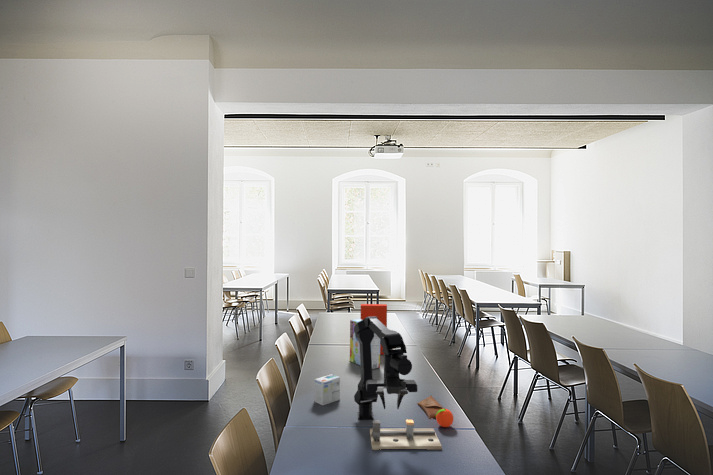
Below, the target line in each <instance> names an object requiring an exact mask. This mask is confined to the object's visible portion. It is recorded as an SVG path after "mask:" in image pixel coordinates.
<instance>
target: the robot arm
mask: <svg viewBox="0 0 713 475" xmlns="http://www.w3.org/2000/svg"><path fill="white" fill-rule="evenodd" d="M354 332H355V337H356V339H357V340H358V342H359V344H360V363H361V366H360V377H361V378H360V380H359V382H358V384H357V391H356V392H355V394H354V396H353V399H354V402H355V403H356V404H357V405H358V411H357V419H358V420H374V419H375V418H374V417H375V416H374V413H373V412H374V411H373V403H377V402H378V399H379V398H378V397H380V400H381V402H382V407H383V409H384V410H386V402H385V401H386V400H385V392H384V389H386V394H387V395H392V394H393V395H394V394H396V395H397V400H396V408H397V410H399V409H400V407H401V403H402V400H403V398H404V397H405V395H408V394H409V393H417V392H418V384H417V382H416V380H414V379H406V378H400V375H402V376H407V375H409V374H410V373H411V372H412V369H413V364H412V361H411V360H410V359H408V355H407V353H408V352H407V347H406V344H405V342H404V338H403V337H402V335H401V333H400V332H398V331H396V330H393V329H390V328H388V326H387V327H386V326H385V325H384V324H382V323H381V322H380V321H379V320H378V318H377V317H375V316H372V317H366V318H365V319H364V320H362V321H360V322H358V323H357V324H356V325H355V326H354ZM374 333H375V334H376V335H377V336H378V337H379V338H380V344H381V345H382V347H383V350H382V352H383V353H384V355H383V382H378V381H377V379H374V377H373V369H372V358H371V342H372V340H373V338H374Z"/></svg>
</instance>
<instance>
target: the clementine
mask: <svg viewBox="0 0 713 475" xmlns="http://www.w3.org/2000/svg"><path fill="white" fill-rule="evenodd" d="M435 417H436V419H435V420H436V423H437V424H438V425H439V426H440V427H443V428H449V427H450V426H452V425H453V422H454V413H452V411H451V410H449V409H447V408H444V409H440V410H439V411H438V412H437V413H436V416H435Z"/></svg>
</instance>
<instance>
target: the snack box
mask: <svg viewBox="0 0 713 475" xmlns="http://www.w3.org/2000/svg"><path fill="white" fill-rule="evenodd" d="M360 321H362V319H361V318H359V319H358V318H355V319H350V320H349V322H350V323H349V328H350V329H349V332H350V333H349V362H351V363H353V364H355V365H358V366H360V367H361V363H360V344H359V342H358V340H357V339H356V337H355V332H354V326H355V325H356V324H357V323H358V322H360ZM371 358H372V370H374V369H379V368H381V355H380V338H379V337H378V336H377V335H376V334H375V333H374V338H373V340H372V342H371Z"/></svg>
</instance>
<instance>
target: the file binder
mask: <svg viewBox="0 0 713 475" xmlns="http://www.w3.org/2000/svg"><path fill="white" fill-rule="evenodd" d="M372 316H375V317H377V318H378V320H379V321H380V322H381V323H382V324H384V325H385V326H386V327H387V328H388V305H387V304H381V303H376V304H375V303H361V304H360V319H362V320H364V319H365V318H366V317H372ZM382 350H383V347H382V345H381V344H380V356H381V355H383V356H384V353H383V352H382Z"/></svg>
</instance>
